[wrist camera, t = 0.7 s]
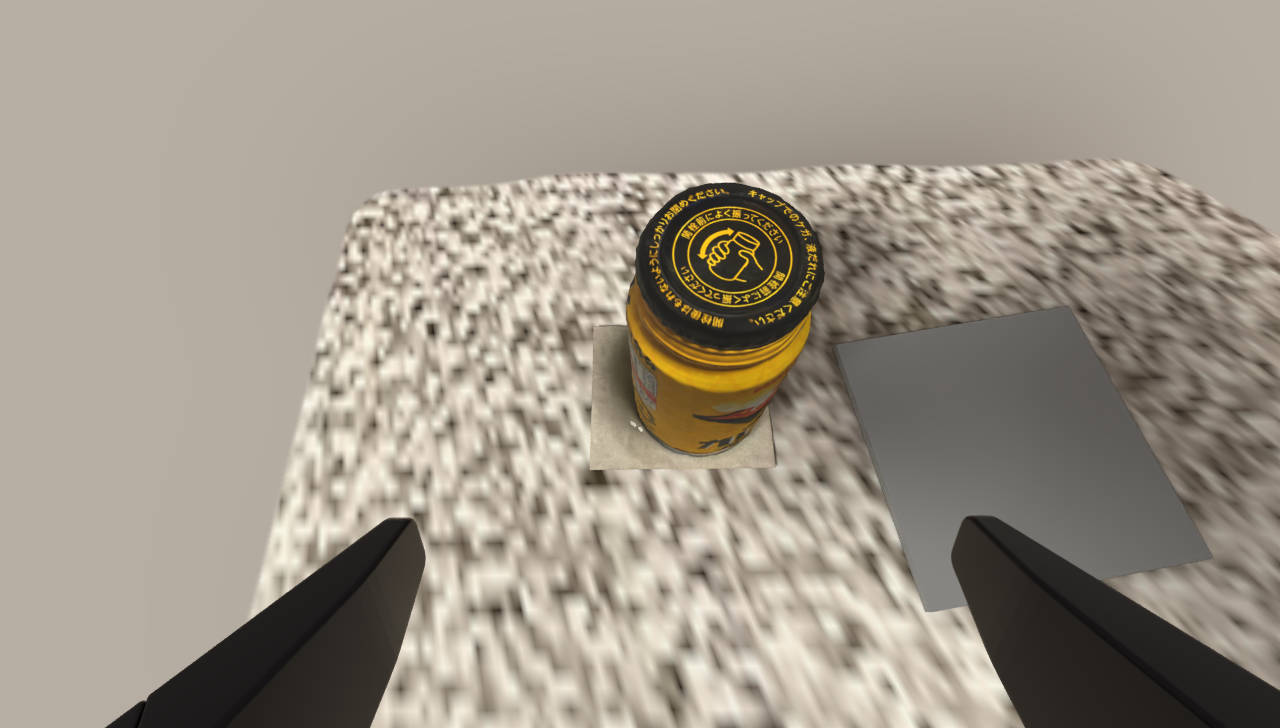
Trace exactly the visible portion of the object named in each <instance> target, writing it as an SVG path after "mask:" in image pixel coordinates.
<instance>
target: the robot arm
mask: <svg viewBox="0 0 1280 728" xmlns="http://www.w3.org/2000/svg"><path fill="white" fill-rule="evenodd" d="M425 559H426V556H425V550H424V547H423V543H422V540H421V537H420V533H419V530H418V526H417V524H416V521H415V520H414V519H412V518H388V519H386V520H384V521H383V522H381V523H380V524H379V525H377V526H376V527H375V528H373V529H372V530H371V531H369V532H368V533H367V534H365V535H364V536H362V537H361V538H360V539H358V540H357V541H356V542H354V543H353V544H352V545H350V546H349V547H348V548H346V549H345V550H344V551H342V552H341V553H340V554H338V555H337V556H336V557H334V558H333V559H332V560H330V561H329V562H328V563H326V564H325V565H323V566H322V567H321V568H319V569H318V570H317V571H315V572H314V573H313V574H311V575H310V576H309V577H307V578H306V579H305V580H303V581H302V582H301V583H299V584H298V585H297V586H295V587H294V588H293V589H291V590H290V591H289V592H287V593H286V594H284V595H283V596H282V597H280V598H279V599H278V600H276V601H275V602H274V603H272V604H271V605H270V606H268V607H267V608H266V609H264V610H263V611H262V612H260V613H259V614H258V615H256V616H255V617H254V618H252V619H251V620H250V621H248V622H247V623H246V624H244V625H243V626H241V627H240V628H239V629H237V630H236V631H235V632H233V633H232V634H231V635H229V636H228V637H227V638H225V639H224V640H223V641H221V642H220V643H219V644H217V645H216V646H215V647H213V648H212V649H211V650H209V651H208V652H207V653H205V654H204V655H203V656H201V657H200V658H199V659H197V660H196V661H195V662H193V663H192V664H190V665H189V666H188V667H186V668H185V669H184V670H182V671H181V672H180V673H178V674H177V675H176V676H174V677H173V678H172V679H170V680H169V681H167V682H166V683H165V684H163V685H162V686H161V687H159V688H158V689H157V690H155V691H154V692H153V693H151V694H150V695H149V696H148V698H147V701H141V702H139V703H138V704H136V705H135V706H134V707H132V708H131V709H130V710H128V711H127V712H126V713H124V714H123V715H121V716H120V717H119V718H117V719H116V720H115V721H114V722H112V723H111V724H110V725H108V726H107V727H106V728H370V726H371V724H372V722H373V719H374V717H375V714H376V712H377V709H378V707H379V704H380V702H381V699H382V697H383V694H384V692H385V689H386V687H387V684H388V682H389V680H390V677H391V674H392V672H393V669H394V667H395V664H396V661H397V658H398V655H399V652H400V649H401V646H402V643H403V639H404V636H405V632H406V629H407V626H408V622H409V619H410V615H411V612H412V608H413V605H414V602H415V598H416V595H417V591H418V588H419V584H420V581H421V578H422V574H423V571H424V567H425ZM951 562H952V566H953V569H954V572H955V574H956V577H957V579H958V582H959V584H960V587H961V589H962V592H963V594H964V597H965V599H966V602H967V604H968V606H969V609H970V611H971V614H972V616H973V619H974V621H975V624H976V626H977V629H978V631H979V634H980V636H981V639H982V641H983V644H984V646H985V648H986V651H987V653H988V655H989V658H990V660H991V662H992V664H993V666H994V668H995V670H996V672H997V674H998V676H999V678H1000V680H1001V682H1002V684H1003V686H1004V688H1005V690H1006V692H1007V694H1008V696H1009V698H1010V700H1011V701H1012V703H1013V705H1014V707H1015V709H1016V711H1017V713H1018V715H1019V717H1020V719H1021V721H1022V723H1023V725H1024V727H1025V728H1280V690H1278V689H1277V688H1275V687H1273V686H1272V685H1270V684H1268V683H1267V682H1265V681H1263V680H1262V679H1260V678H1259V677H1257V676H1255V675H1254V674H1252V673H1250V672H1249V671H1247V670H1245V669H1244V668H1242V667H1241V666H1239V665H1237V664H1236V663H1234V662H1232V661H1231V660H1229V659H1228V658H1226V657H1224V656H1223V655H1221V654H1219V653H1218V652H1216V651H1214V650H1213V649H1211V648H1210V647H1208V646H1206V645H1205V644H1203V643H1201V642H1200V641H1198V640H1196V639H1195V638H1193V637H1192V636H1190V635H1188V634H1187V633H1185V632H1183V631H1182V630H1180V629H1178V628H1177V627H1175V626H1174V625H1172V624H1170V623H1169V622H1167V621H1165V620H1164V619H1162V618H1160V617H1159V616H1157V615H1156V614H1154V613H1152V612H1151V611H1149V610H1147V609H1146V608H1144V607H1142V606H1141V605H1139V604H1138V603H1136V602H1134V601H1133V600H1131V599H1129V598H1128V597H1126V596H1124V595H1123V594H1121V593H1120V592H1118V591H1116V590H1115V589H1113V588H1111V587H1110V586H1108V585H1106V584H1105V583H1103V582H1102V581H1100V580H1098V579H1097V578H1095V577H1093V576H1092V575H1090V574H1089V573H1087V572H1085V571H1084V570H1082V569H1080V568H1079V567H1077V566H1075V565H1074V564H1072V563H1071V562H1069V561H1067V560H1066V559H1064V558H1062V557H1061V556H1059V555H1057V554H1056V553H1054V552H1053V551H1051V550H1049V549H1048V548H1046V547H1044V546H1043V545H1041V544H1039V543H1038V542H1036V541H1035V540H1033V539H1031V538H1030V537H1028V536H1026V535H1025V534H1023V533H1021V532H1020V531H1018V530H1017V529H1015V528H1013V527H1012V526H1010V525H1008V524H1007V523H1005V522H1003V521H1002V520H1000V519H998V518H997V517H994V516H990V515H970V516H966V517H965V518H964V519H963V520H962V522H961V525H960V528H959V530H958V533H957V536H956V539H955V542H954V544H953V547H952V550H951Z"/></svg>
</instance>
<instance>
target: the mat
mask: <svg viewBox="0 0 1280 728" xmlns="http://www.w3.org/2000/svg"><path fill="white" fill-rule="evenodd" d="M833 351H834V354H835V357H836V360H837V363H838V365H839V368H840V371H841V374H842V377H843V380H844V382H845V385H846V388H847V391H848V394H849V397H850V400H851V402H852V405H853V408H854V411H855V414H856V417H857V419H858V422H859V425H860V428H861V431H862V434H863V436H864V439H865V442H866V445H867V448H868V451H869V453H870V456H871V459H872V462H873V465H874V468H875V471H876V473H877V476H878V479H879V482H880V485H881V488H882V490H883V493H884V496H885V499H886V502H887V505H888V507H889V510H890V513H891V516H892V519H893V522H894V525H895V527H896V530H897V533H898V536H899V539H900V542H901V544H902V547H903V550H904V553H905V556H906V559H907V561H908V564H909V567H910V570H911V573H912V576H913V578H914V581H915V584H916V587H917V590H918V593H919V596H920V598H921V601H922V604H923V607H924V610H925V612H935V611H940V610H945V609H950V608H956V607H961V606H966V605H968V604H967V602H966V599H965V597H964V594H963V592H962V589H961V587H960V584H959V582H958V579H957V577H956V574H955V572H954V569H953V566H952V562H951V550H952V547H953V544H954V542H955V539H956V536H957V533H958V530H959V528H960V525H961V522H962V520H963V519H964V518H965V517H966V516H970V515H990V516H994V517H997V518H998V519H1000V520H1002V521H1003V522H1005V523H1007V524H1008V525H1010V526H1012V527H1013V528H1015V529H1017V530H1018V531H1020V532H1021V533H1023V534H1025V535H1026V536H1028V537H1030V538H1031V539H1033V540H1035V541H1036V542H1038V543H1039V544H1041V545H1043V546H1044V547H1046V548H1048V549H1049V550H1051V551H1053V552H1054V553H1056V554H1057V555H1059V556H1061V557H1062V558H1064V559H1066V560H1067V561H1069V562H1071V563H1072V564H1074V565H1075V566H1077V567H1079V568H1080V569H1082V570H1084V571H1085V572H1087V573H1089V574H1090V575H1092V576H1093V577H1095V578H1097V579H1098V580H1102V579H1108V578H1113V577H1118V576H1123V575H1128V574H1134V573H1139V572H1144V571H1149V570H1155V569H1160V568H1165V567H1170V566H1176V565H1181V564H1186V563H1191V562H1197V561H1202V560H1207V559H1212V558H1213V556H1212V554H1211V552H1210V551H1209V549H1208V547H1207V545H1206V544H1205V542H1204V540H1203V538H1202V537H1201V535H1200V533H1199V532H1198V530H1197V528H1196V526H1195V525H1194V523H1193V521H1192V519H1191V518H1190V516H1189V514H1188V512H1187V511H1186V509H1185V507H1184V505H1183V504H1182V502H1181V500H1180V499H1179V497H1178V495H1177V493H1176V492H1175V490H1174V488H1173V486H1172V485H1171V483H1170V481H1169V479H1168V478H1167V476H1166V474H1165V472H1164V471H1163V469H1162V467H1161V466H1160V464H1159V462H1158V460H1157V459H1156V457H1155V455H1154V453H1153V452H1152V450H1151V448H1150V446H1149V445H1148V443H1147V441H1146V439H1145V438H1144V436H1143V434H1142V433H1141V431H1140V429H1139V427H1138V426H1137V424H1136V422H1135V420H1134V419H1133V417H1132V415H1131V413H1130V412H1129V410H1128V408H1127V406H1126V405H1125V403H1124V401H1123V399H1122V398H1121V396H1120V394H1119V393H1118V391H1117V389H1116V387H1115V386H1114V384H1113V382H1112V380H1111V379H1110V377H1109V375H1108V373H1107V372H1106V370H1105V368H1104V366H1103V365H1102V363H1101V361H1100V360H1099V358H1098V356H1097V354H1096V353H1095V351H1094V349H1093V347H1092V346H1091V344H1090V342H1089V340H1088V339H1087V337H1086V335H1085V333H1084V332H1083V330H1082V328H1081V327H1080V325H1079V323H1078V321H1077V320H1076V318H1075V316H1074V314H1073V313H1072V311H1071V309H1070V307H1069V306H1064V307H1058V308H1052V309H1046V310H1040V311H1034V312H1028V313H1022V314H1016V315H1010V316H1004V317H998V318H992V319H986V320H980V321H974V322H968V323H962V324H956V325H950V326H944V327H938V328H932V329H926V330H920V331H914V332H908V333H902V334H896V335H890V336H884V337H878V338H872V339H866V340H860V341H854V342H848V343H842V344H836V345H835V346H834V348H833Z"/></svg>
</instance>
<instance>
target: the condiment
mask: <svg viewBox="0 0 1280 728" xmlns="http://www.w3.org/2000/svg"><path fill="white" fill-rule="evenodd" d="M635 264H636V274H635V276H634V279H633V281H632V283H631V285H630V289H629V294H628V299H627V306H626V321H627V325H628V327H625V326H596V327H594V335H593V340H594V343H593V385H592V415H591V446H590V470H604V469H618V470H620V469H709V468H716V469H718V468H770V467H776V465H775V458H774V448H773V440H772V431H771V424H770V416H769V407H768V404H769V403H770V402H771V399H772V397H773V396H774V394H775V393H776V391H777V389H778V388H779V386H780V384H781V383H782V381H783V380H784V378H785V377H786V376H787V373H788V372H789V370H790V369H791V368H792V366H793V365H794V364H795V363H796V361H797V359H798V357H799V355H800V353H801V352H802V350H803V347H804V345H805V342H806V340H807V337H808V335H809V330H810V323H811V308H812V307H813V306H814V305H815V304H816V302H817V299H818V298H819V293H820V289H821V287H822V284H823V282H824V274H825V272H824V267H823V266H824V264H823V256H822V249H821V245H820V242H819V240H818V236H817V234H816V233H815V232H814V231H813V230H812V228H811V226H810V224H809V222H808V221H807V220H806V218H805V217H804V216H803V215H802V214H801V213H800V212H799V211H798V210H796V209H795V208H794V207H793V206H791V205H790V204H789V203H787V202H785V201H784V200H783V199H782V198H781V197H779V196H778V195H776V194H773V193H770V192H768V191H766V190H763V189H760V188H756V187H751V186H748V185H743V184H737V183H714V184H712V183H709V184H704V185H700V186H697V187H693V188H688V189H687V190H685V191H683V192H681V193H679V194H677V195H675V196H674V197H673V198H672V199H671V200H670V201H668V202H667V203H666V204H665V205H664V206H663V207H662V208H661V209H660V210H659V211H658V212H657V213H656V214H655V215H654V217H653V218H652V219H650V221H649V223H648V224H647V226H646V228H645V229H644V231H643V232H642V234H641V236H640V240H639V244H638V246H637V248H636V260H635ZM630 421H633V422H634V423H636V425H637V426H636V427H634V426H632V425H631V424H630ZM638 427H642V428H643V432H640V431H639V429H638Z"/></svg>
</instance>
